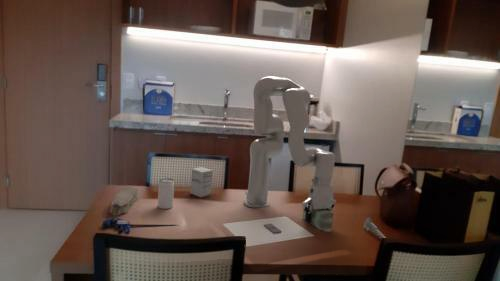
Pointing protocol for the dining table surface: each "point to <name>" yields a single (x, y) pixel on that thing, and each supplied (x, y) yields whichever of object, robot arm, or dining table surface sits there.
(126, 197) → the shoe brush
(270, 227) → the mark chip
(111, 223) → the bar clamp
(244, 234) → the board
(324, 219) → the block
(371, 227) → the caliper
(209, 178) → the supplement box
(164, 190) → the can
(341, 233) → the dining table surface
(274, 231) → the mark chip
